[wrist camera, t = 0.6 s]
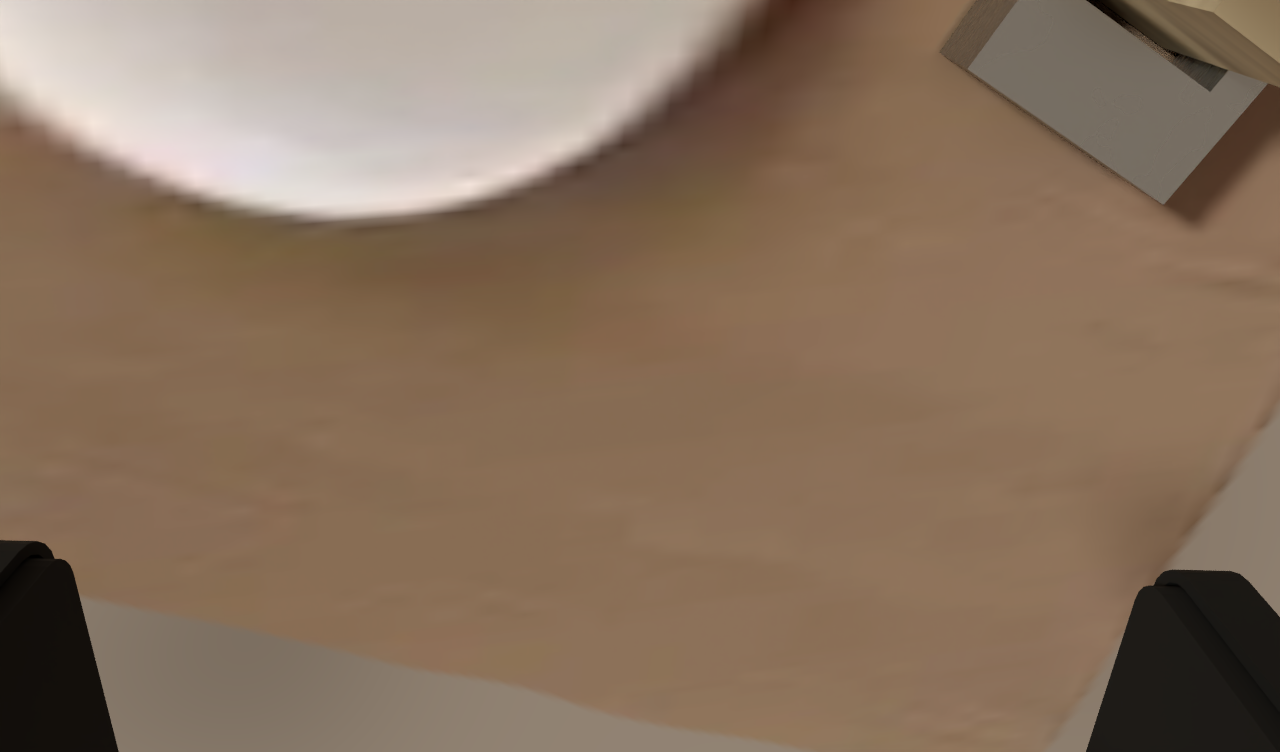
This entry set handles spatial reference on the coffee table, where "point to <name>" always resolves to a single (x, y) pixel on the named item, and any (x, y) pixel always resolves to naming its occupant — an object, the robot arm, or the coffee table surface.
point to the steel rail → (1102, 87)
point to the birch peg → (1213, 31)
